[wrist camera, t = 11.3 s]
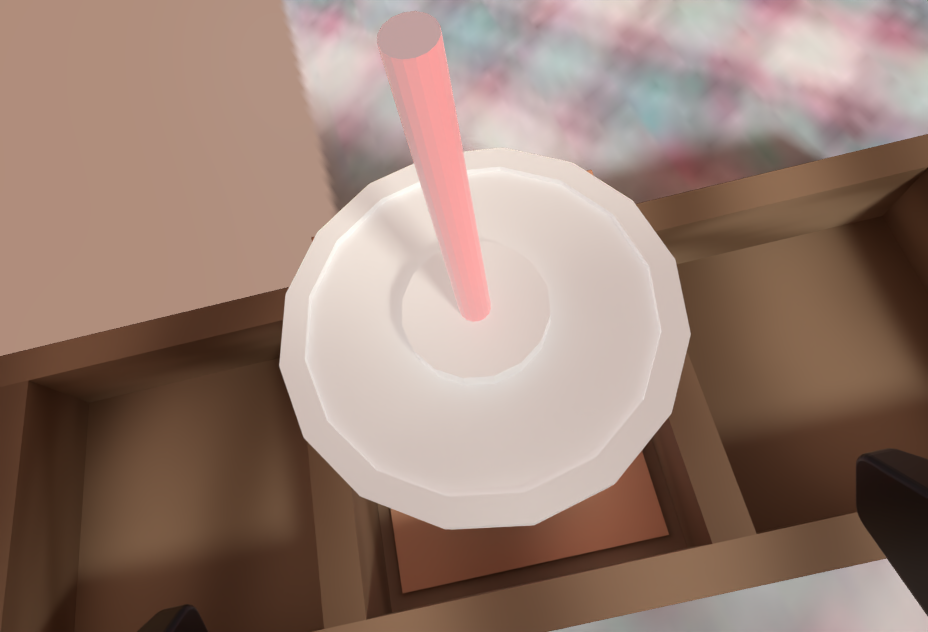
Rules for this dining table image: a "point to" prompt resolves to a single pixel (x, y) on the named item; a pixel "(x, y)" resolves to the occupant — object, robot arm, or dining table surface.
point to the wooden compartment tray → (497, 548)
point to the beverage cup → (480, 322)
